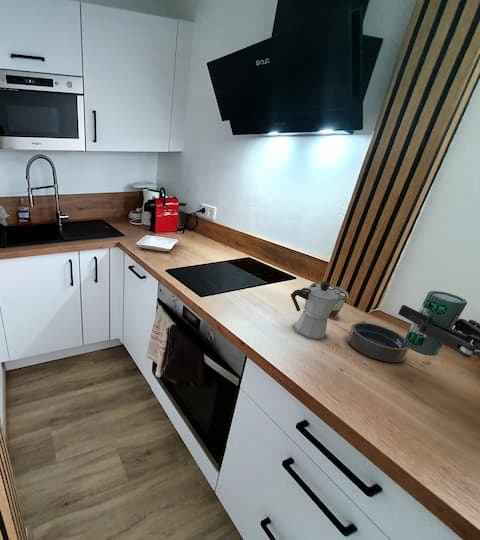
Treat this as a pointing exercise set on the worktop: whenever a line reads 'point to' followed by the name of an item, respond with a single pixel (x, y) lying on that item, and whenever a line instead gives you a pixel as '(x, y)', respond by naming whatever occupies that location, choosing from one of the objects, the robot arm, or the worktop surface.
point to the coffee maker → (315, 310)
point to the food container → (340, 303)
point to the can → (435, 320)
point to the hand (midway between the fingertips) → (413, 309)
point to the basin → (378, 342)
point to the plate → (157, 243)
